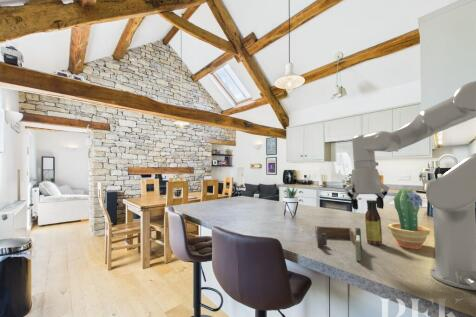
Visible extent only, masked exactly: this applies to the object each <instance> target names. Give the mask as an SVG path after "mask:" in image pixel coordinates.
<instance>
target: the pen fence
mask: <svg viewBox="0 0 476 317" xmlns="http://www.w3.org/2000/svg"><path fill="white" fill-rule="evenodd" d="M354 229H355V231H354V230H353V229H352V227H340V226H339V227H338V226H320V225H318V226H317V225H316V226H314V230H315V231H314V232H315V239H316V242H317V248H319V249H323V246H325V247H326V246H327V244H328V242H327V238H333V239H334V238H336V239H349V240H350V242H351V243H352V244H353V245H354V246H355V240H356V235H360V251H362V233H361V227H355V228H354Z"/></svg>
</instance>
